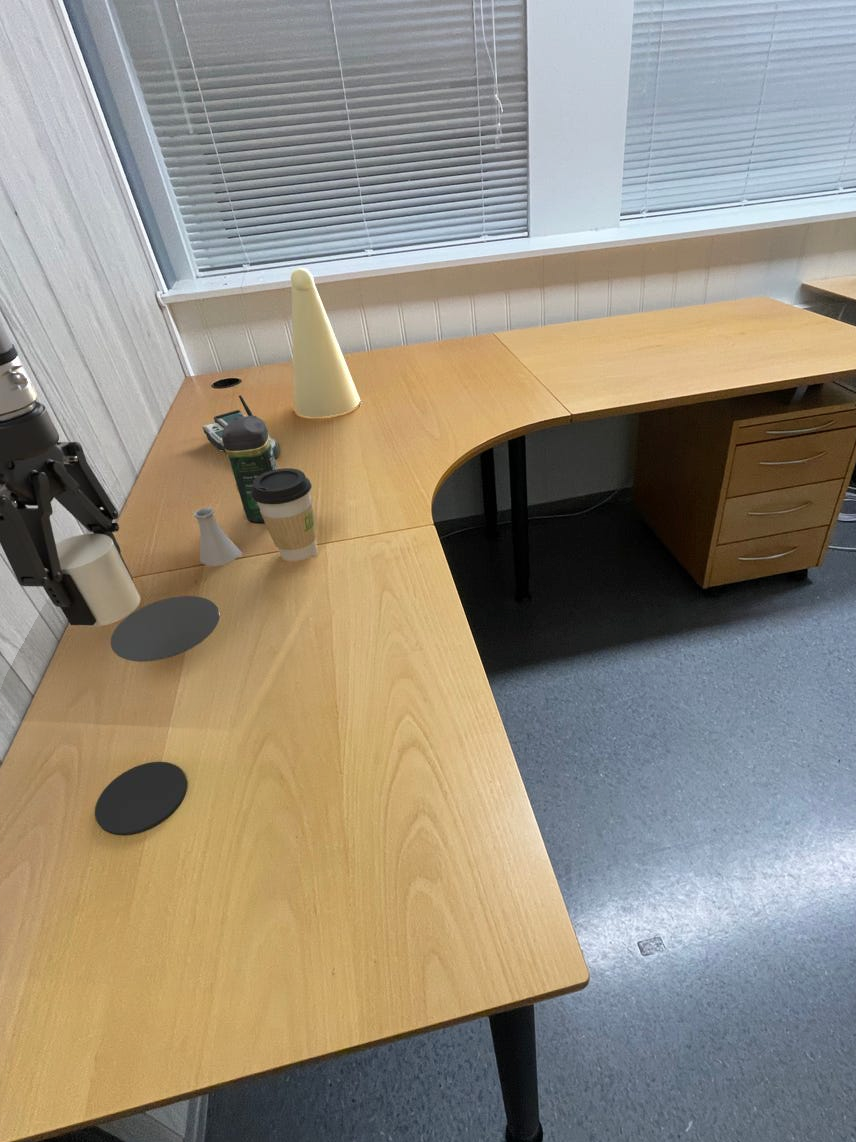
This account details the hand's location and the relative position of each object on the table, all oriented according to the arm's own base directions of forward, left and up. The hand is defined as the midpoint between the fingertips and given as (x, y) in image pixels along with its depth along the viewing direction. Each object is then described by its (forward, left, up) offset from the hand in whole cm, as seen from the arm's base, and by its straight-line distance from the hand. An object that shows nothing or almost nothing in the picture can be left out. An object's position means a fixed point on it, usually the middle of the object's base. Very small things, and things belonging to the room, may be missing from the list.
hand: (103, 601), depth 74 cm
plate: (-6, +15, -17) cm, 23 cm away
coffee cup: (+8, +37, -17) cm, 41 cm away
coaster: (+6, -15, -17) cm, 24 cm away
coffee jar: (-4, +53, -17) cm, 56 cm away
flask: (-6, +35, -17) cm, 39 cm away
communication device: (-21, +84, -17) cm, 88 cm away
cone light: (-8, +109, -17) cm, 110 cm away
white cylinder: (0, 0, -1) cm, 1 cm away
